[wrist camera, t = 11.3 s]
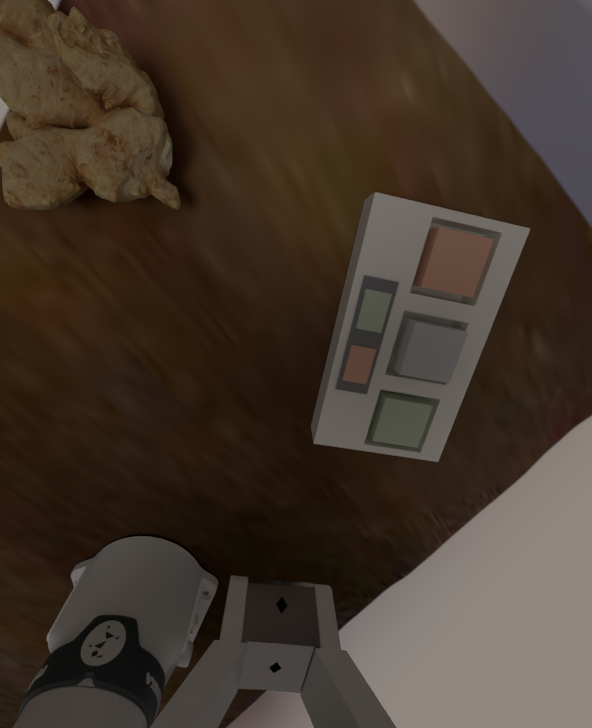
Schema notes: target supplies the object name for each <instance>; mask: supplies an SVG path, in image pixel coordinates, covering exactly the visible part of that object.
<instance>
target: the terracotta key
mask: <svg viewBox="0 0 592 728" xmlns="http://www.w3.org/2000/svg"><path fill="white" fill-rule="evenodd" d="M493 241H494V239H490V238H486V237H481V236H477V235H473V234H468V233H464V232H460V231H455V230H451V229H446V228H442V227H437V228H432V229H429V231H428V234H427V238H426V241H425V244H424V248H423V251H422V254H421V257H420V261H419V264H418V267H417V271H416V274H415V277H414V281H413V284H412V285H414V286H419V287H423V288H428V289H433V290H438V291H443V292H447V293H452V294H457V295H462V296H467V297H472V298H473V296H474V293H475V290H476V287H477V285H478V282H479V279H480V277H481V274H482V271H483V268H484V266H485V263H486V260H487V257H488V255H489V252H490V249H491V246H492V244H493Z"/></svg>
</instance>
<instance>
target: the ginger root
mask: <svg viewBox="0 0 592 728" xmlns="http://www.w3.org/2000/svg"><path fill="white" fill-rule="evenodd" d="M0 97H1V98H2V100H3V101H4V102H5V103H6V104H7V106H8V107H9V108H10V109H11V110H12V112H9V114H8V115H7V117H6V121H7V125H8V129H9V131H10V134H11V135H12V137H13V138H14V139H15V141H5V142H1V143H0V166H1V167H2V185H3V193H4V199H5V202H7V203H8V205H9V206H11V207H12V208H16V209H20V210H48V209H54V208H58V207H62V206H65V205H66V204H68V203H70V202H72V201H73V200H74V199H76V198H77V197H79V196H80V195H82V194H83V193H84V192H85V191H86V190H87V189H88V188H89V187H90V188H91V189H92V190H94V192H95V194H96V195H97V196H99V197H100V198H102V199H106V200H109V201H111V202H126V201H132V200H135V199H139V198H146V197H148V196H150V195H153V196H154V197H156V198H157V199H158V200H160V201H162V202H163V203H164V204H166V205H168V206H170V207H172V208H175V209H177V210H178V209H179V208H180V205H181V201H180V197H179V193H178V190H177V188H176V187H175V186H174V185H173V184H172V183H171V182H169V181H168V180H167V176H169V170H170V168H171V166H172V139H171V137H170V135H169V133H168V129H167V124H166V122H165V121H164V112H163V109H162V107H161V104H160V102H159V101H158V97H159V96H158V94H157V92H156V89H155V87H154V85H153V83H152V82H151V80H150V78H149V76H148V75H147V74H146V73H145V72H144V71H141V70H139V68H138V67H137V66H136V63H135V61H134V60H133V58H132V56H131V55H130V53H129V52H127V51H126V49H125V48H124V46H123V45H122V43H121V41H120V39H119V38H118V37H117V36H116V35H115V34H114V32H113V31H111V30H107V29H97V28H95V27H94V26H92V25H91V24H90V23H89V22H88V21H87V19H86V18H85V17H84V15H83V14H82V13H81V12H80V11H79V10H78V9H76V8H75V7H72V8H71V10H70V13H69V16H67V15H65V14H64V13H62V12H61V11H56V12H55V10H54V8H53V6H52V4H51V3H50V2H49V1H48V0H0Z"/></svg>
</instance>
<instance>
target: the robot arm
mask: <svg viewBox="0 0 592 728" xmlns="http://www.w3.org/2000/svg"><path fill="white" fill-rule="evenodd" d="M71 578H72V582H73V585H74V588H73V590H72V592H71V594H70V595H69V597H68V599H67V601H66V602H65V604H64V606H63V608H62V610H61V611H60V613H59V615H58V617H57V619H56V620H55V622H54V624H53V626H52V628H51V629H50V631H49V633H48V636H47V642H48V648H49V651H50V655H49V657H48V658H47V660H46V661H45V663H44V665H43V666H42V668H41V670H40V671H39V672H38V673H37V675H36V676H35V678H34V680H33V681H32V683H31V685H30V687H29V689H28V693H27V695H26V696H25V698H24V700H23V702H22V704H21V706H20V710H19V718H18V720H17V721H16V723H15V725H14V727H13V728H218V726H219V724H220V722H221V720H222V718H223V717H224V715H225V713H226V711H227V709H228V707H229V706H230V704H231V702H232V700H233V698H234V696H235V695H236V693H237V690H238V689H262V690H276V691H286V692H296V693H301V698H302V700H303V702H304V705H305V707H306V709H307V712H308V714H309V716H310V719H311V721H312V723H313V726H314V728H396V727H395V725H394V723H393V722H392V721H391V719H390V717H389V716H388V714H387V713H386V711H385V710H384V708H383V707H382V705H381V704H380V702H379V701H378V699H377V697H376V696H375V694H374V693H373V691H372V690H371V688H370V687H369V685H368V684H367V682H366V681H365V679H364V677H363V676H362V674H361V673H360V672H359V670H358V668H357V667H356V665H355V664H354V662H353V660H352V659H351V657H350V656H349V654H348V653H347V651H344V650H341V647H340V641H339V634H338V627H337V621H336V614H335V608H334V601H333V595H332V589H331V587H330V586H329V585H319V584H312V583H304V582H292V581H274V580H266V579H258V578H251V577H243V576H233V575H231V578H230V582H229V588H228V593H227V599H226V605H225V610H224V616H223V622H222V628H221V634H220V640H214V641H213V643H212V644H211V645H210V647H209V648H208V649H207V651H206V652H205V653H204V655H203V656H202V657H201V659H200V660H199V662H198V663H197V664H196V666H195V667H194V668H193V670H192V671H191V672H190V674H189V675H188V676H187V678H186V679H185V681H184V682H183V683H182V685H181V686H180V687H179V689H178V690H177V691H176V693H175V694H174V695H173V697H172V698H171V700H170V701H169V702H168V704H167V705H166V706H165V708H164V709H163V710H162V712H161V713H160V714H159V716H158V717H157V718H156V720H155V721H154V719H155V717H156V715H157V712H158V709H159V705H160V702H161V695H162V692H163V689H164V686H165V685H166V683H167V682H168V680H169V678H170V676H171V674H172V672H173V671H174V669H175V667H176V665H177V666H179V667H185V668H186V667H188V664H189V661H190V658H191V654H192V650H193V644H192V643H193V641H194V639H195V637H196V635H197V632H198V630H199V628H200V626H201V624H202V621H203V619H204V617H205V615H206V613H207V610H208V608H209V606H210V604H211V601H212V599H213V597H214V595H215V593H216V590H217V587H218V583H219V582H218V580H217V578H216V577H214V576H213V575H211V574H210V573H208V572H207V571H205V570H203V569H202V568H201V567H200V565H199V564H198V562H197V561H196V560H195V558H194V557H193V556H192V555H191V554H190V553H189V552H187V551H186V550H185V549H183V548H182V547H180V546H179V545H177V544H175V543H172V542H170V541H167V540H164V539H160V538H156V537H148V536H135V537H128V538H123V539H120V540H117V541H115V542H113V543H111V544H109V545H107V546H106V547H104V548H103V549H102V550H101V551H100V552H99V553H98V554H97V555H96V556H95V557H93V558H91V559H88V560H86V561H83V562H81V563H79V564H77V565H76V566H75V567H74V569H73V571H72V573H71ZM153 721H154V723H153Z"/></svg>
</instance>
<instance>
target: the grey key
mask: <svg viewBox="0 0 592 728" xmlns="http://www.w3.org/2000/svg"><path fill="white" fill-rule="evenodd" d="M467 335H468V332H466V331H463V330H461V329H458V328H455V327H450V326H445V325H439V324H434V323H429V322H424V321H419V320H414V319H409V318H407V321H406V324H405V327H404V331H403V334H402V337H401V340H400V344H399V347H398V350H397V353H396V357H395V360H394V363H393V366H392V368H393V369H394V370H395V371H396V372H397V373H398V374H399V375H405V376H411V377H416V378H422V379H428V380H434V381H439V382H445V383H450V380H451V377H452V375H453V372H454V369H455V367H456V364H457V361H458V359H459V356H460V353H461V351H462V348H463V345H464V343H465V340H466V337H467Z"/></svg>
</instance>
